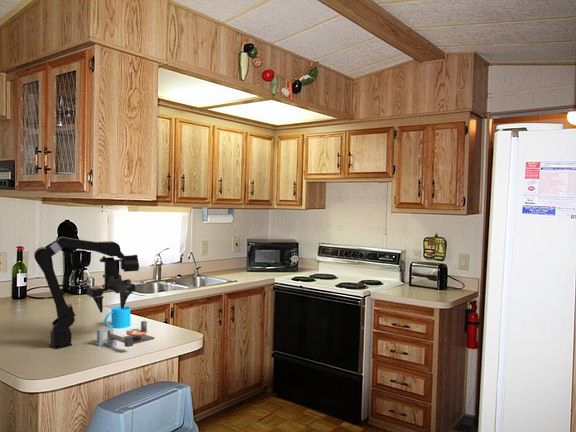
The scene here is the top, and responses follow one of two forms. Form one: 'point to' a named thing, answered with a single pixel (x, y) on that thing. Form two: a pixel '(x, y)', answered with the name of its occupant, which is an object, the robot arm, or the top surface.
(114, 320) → the mug
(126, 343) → the hook rod
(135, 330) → the handwheel
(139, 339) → the wheel mount
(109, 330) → the eye bracket
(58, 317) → the robot arm
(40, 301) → the top surface
